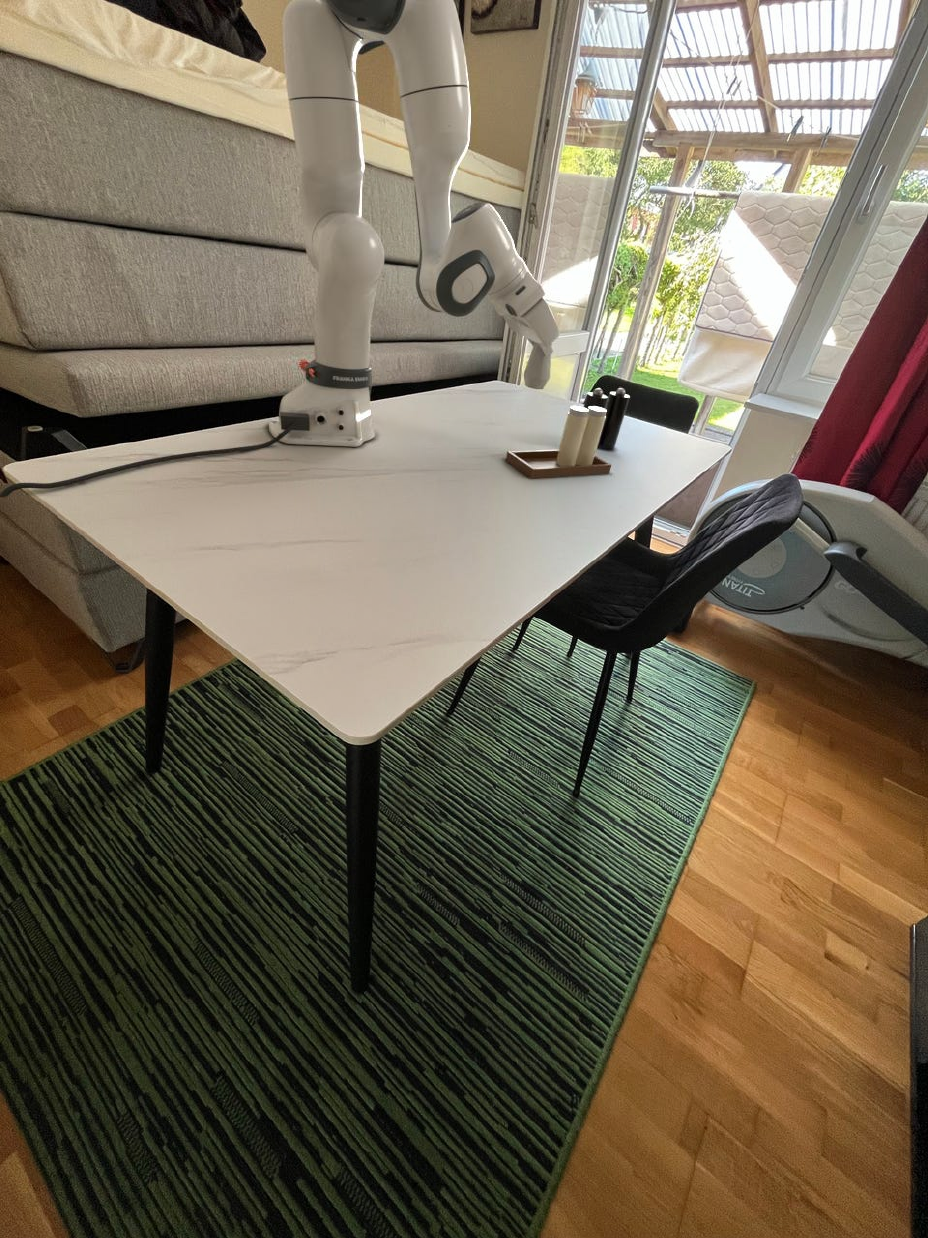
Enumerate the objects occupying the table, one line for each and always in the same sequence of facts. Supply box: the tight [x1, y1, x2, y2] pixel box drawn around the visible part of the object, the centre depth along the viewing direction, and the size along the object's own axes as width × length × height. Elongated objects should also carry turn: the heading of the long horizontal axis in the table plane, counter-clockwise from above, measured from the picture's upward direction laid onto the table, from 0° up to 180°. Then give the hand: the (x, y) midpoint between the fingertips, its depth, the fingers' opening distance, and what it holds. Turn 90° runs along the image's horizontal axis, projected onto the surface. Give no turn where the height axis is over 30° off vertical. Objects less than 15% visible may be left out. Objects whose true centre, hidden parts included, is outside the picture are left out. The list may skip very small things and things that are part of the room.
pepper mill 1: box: [582, 387, 609, 409], centre depth 126 cm, size 5×5×14 cm
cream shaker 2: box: [576, 406, 607, 466], centre depth 116 cm, size 4×4×12 cm
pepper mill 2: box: [597, 387, 631, 451], centre depth 130 cm, size 5×5×14 cm
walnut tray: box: [505, 449, 612, 479], centre depth 116 cm, size 22×11×2 cm, turn 117°
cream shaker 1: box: [556, 405, 589, 466], centre depth 113 cm, size 4×4×12 cm
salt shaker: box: [523, 342, 553, 390], centre depth 111 cm, size 6×6×13 cm
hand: (544, 351), depth 111 cm, fingers closed on salt shaker, 3 cm apart
